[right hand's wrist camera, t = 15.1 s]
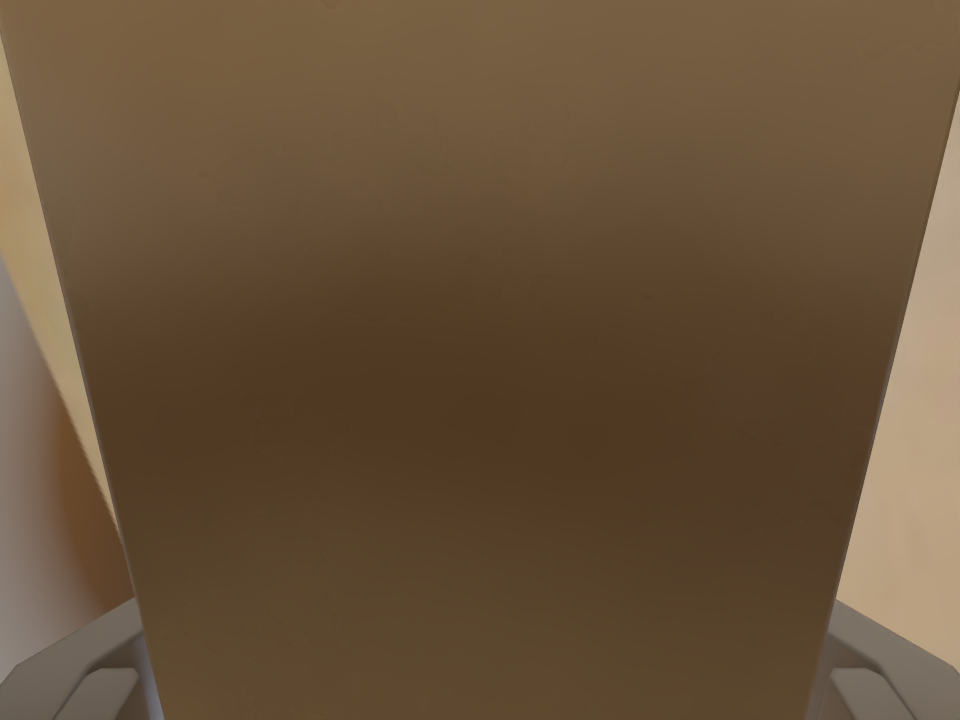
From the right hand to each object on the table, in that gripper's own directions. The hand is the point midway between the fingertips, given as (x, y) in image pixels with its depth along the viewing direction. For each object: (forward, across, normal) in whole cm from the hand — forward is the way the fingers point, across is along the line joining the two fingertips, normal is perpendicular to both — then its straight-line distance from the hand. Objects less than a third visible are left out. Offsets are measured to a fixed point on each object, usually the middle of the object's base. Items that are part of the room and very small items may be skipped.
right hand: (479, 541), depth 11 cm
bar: (+3, 0, -9) cm, 9 cm away
